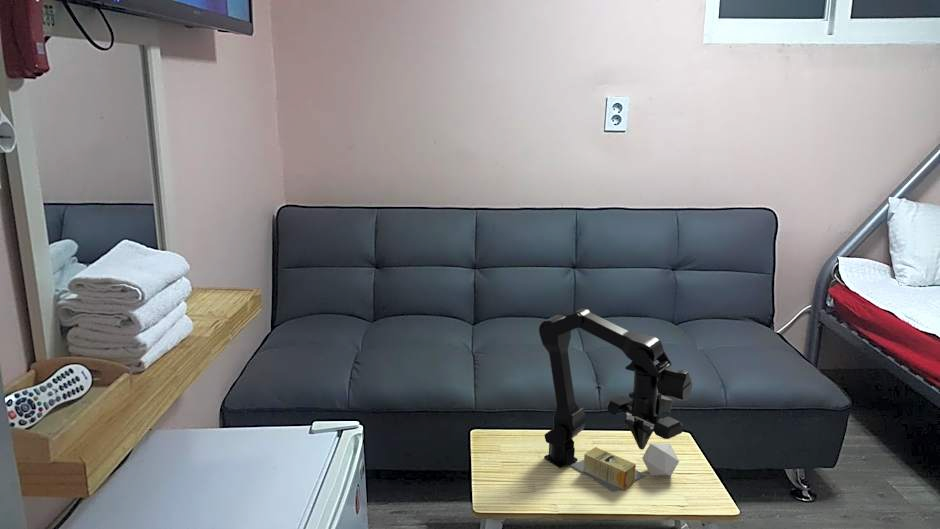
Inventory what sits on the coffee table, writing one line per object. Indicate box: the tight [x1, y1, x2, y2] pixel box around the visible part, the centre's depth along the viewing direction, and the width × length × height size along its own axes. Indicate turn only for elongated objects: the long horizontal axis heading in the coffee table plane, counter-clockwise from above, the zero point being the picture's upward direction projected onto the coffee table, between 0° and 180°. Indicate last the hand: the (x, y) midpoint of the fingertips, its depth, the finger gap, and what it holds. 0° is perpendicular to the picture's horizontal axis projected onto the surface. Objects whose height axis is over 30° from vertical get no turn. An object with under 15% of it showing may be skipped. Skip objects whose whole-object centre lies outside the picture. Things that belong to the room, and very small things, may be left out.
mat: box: [570, 459, 646, 493], centre depth 184 cm, size 14×12×1 cm
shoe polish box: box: [583, 446, 637, 490], centre depth 180 cm, size 5×5×12 cm
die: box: [641, 442, 680, 477], centre depth 183 cm, size 8×9×10 cm
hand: (641, 448), depth 173 cm, fingers closed
